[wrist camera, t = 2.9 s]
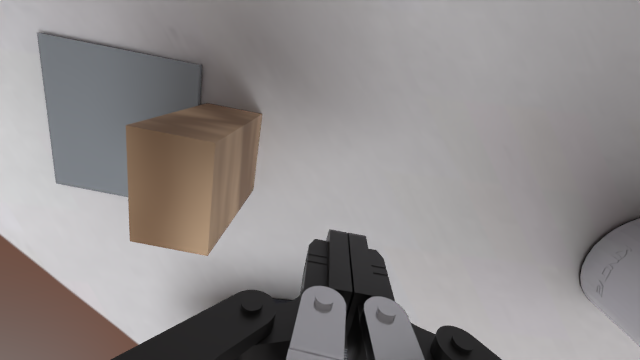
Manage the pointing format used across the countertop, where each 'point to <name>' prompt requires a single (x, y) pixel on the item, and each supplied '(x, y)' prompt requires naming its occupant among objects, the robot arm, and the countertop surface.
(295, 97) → the countertop surface
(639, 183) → the countertop surface
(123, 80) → the mat
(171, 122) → the walnut block
